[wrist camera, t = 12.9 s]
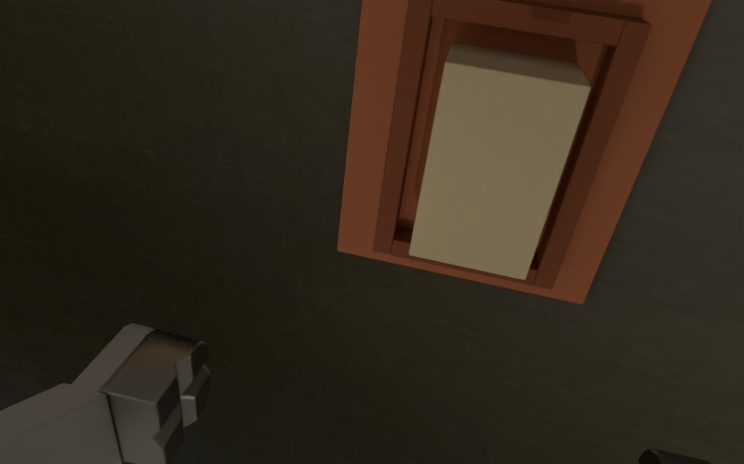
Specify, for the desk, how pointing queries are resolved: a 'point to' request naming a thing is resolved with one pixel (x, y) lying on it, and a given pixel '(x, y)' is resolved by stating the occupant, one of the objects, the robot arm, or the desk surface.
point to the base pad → (588, 150)
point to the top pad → (495, 157)
